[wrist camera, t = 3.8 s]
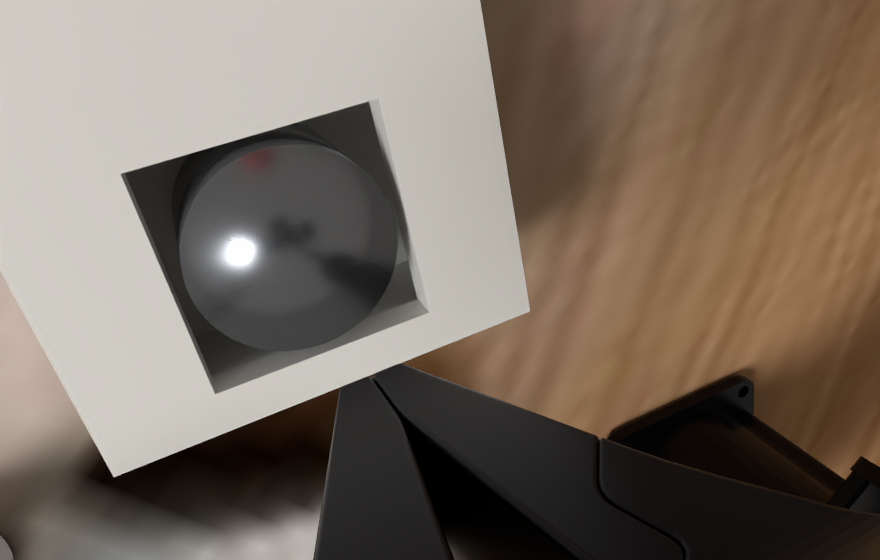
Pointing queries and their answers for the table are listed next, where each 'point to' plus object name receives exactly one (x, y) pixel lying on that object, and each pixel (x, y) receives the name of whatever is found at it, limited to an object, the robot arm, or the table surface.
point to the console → (218, 122)
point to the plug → (282, 238)
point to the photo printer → (5, 550)
